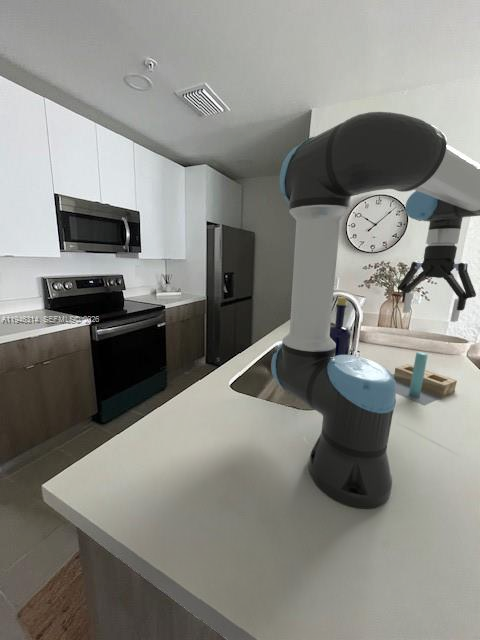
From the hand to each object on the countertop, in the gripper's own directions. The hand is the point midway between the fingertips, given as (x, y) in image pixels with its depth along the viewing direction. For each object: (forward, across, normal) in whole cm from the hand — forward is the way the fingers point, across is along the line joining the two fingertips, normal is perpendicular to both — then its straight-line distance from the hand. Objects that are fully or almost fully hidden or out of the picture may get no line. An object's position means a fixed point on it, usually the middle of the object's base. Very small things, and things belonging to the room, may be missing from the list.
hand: (428, 316), depth 84 cm
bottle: (+26, +19, +17) cm, 36 cm away
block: (+26, +2, -9) cm, 27 cm away
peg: (+26, -1, +2) cm, 26 cm away
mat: (+26, +3, -4) cm, 26 cm away
